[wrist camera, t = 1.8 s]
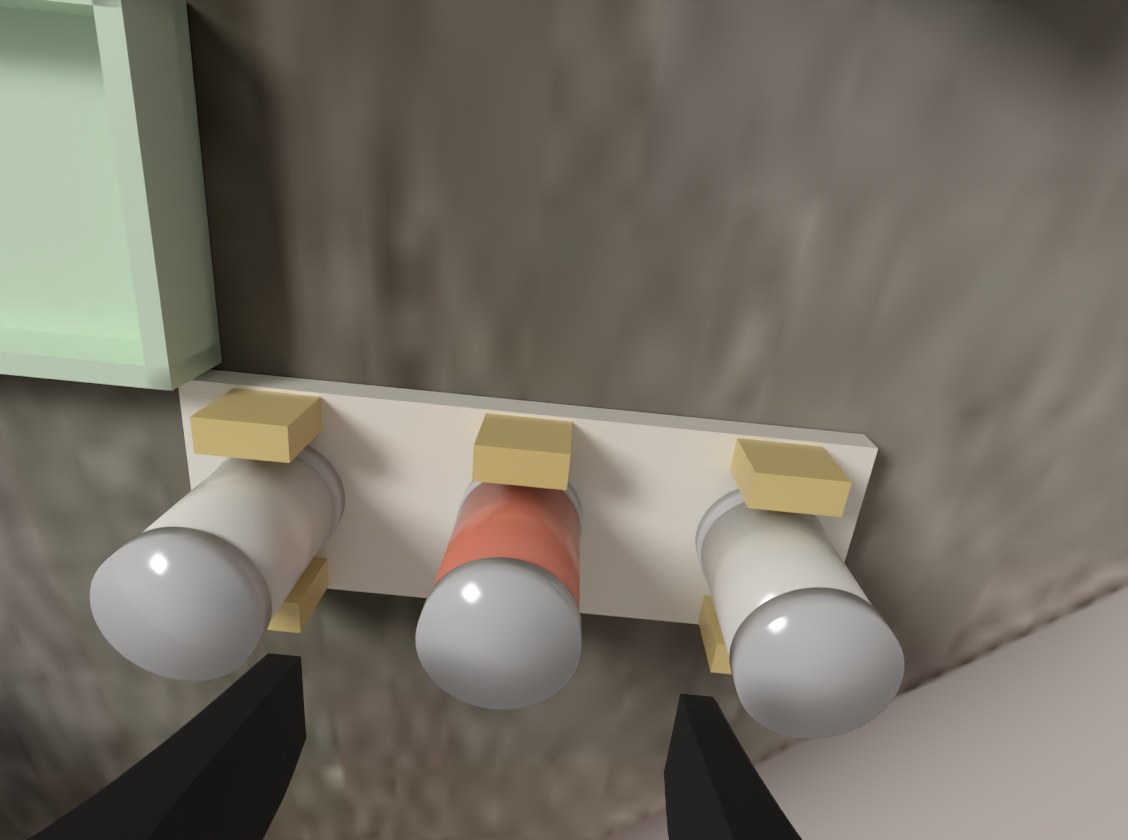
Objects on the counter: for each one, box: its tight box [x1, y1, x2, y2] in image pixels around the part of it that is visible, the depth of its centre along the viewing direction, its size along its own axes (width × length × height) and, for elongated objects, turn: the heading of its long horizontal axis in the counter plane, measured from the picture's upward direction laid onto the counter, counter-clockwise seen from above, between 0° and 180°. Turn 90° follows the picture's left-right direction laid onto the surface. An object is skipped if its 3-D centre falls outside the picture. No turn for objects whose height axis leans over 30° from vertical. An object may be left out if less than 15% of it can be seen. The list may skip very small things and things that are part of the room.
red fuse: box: [415, 481, 582, 710], centre depth 17 cm, size 4×4×6 cm
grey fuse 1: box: [90, 445, 345, 681], centre depth 17 cm, size 4×4×6 cm
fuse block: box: [178, 369, 878, 674], centre depth 19 cm, size 6×20×3 cm, turn 84°
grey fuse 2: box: [695, 489, 905, 739], centre depth 17 cm, size 4×4×6 cm
